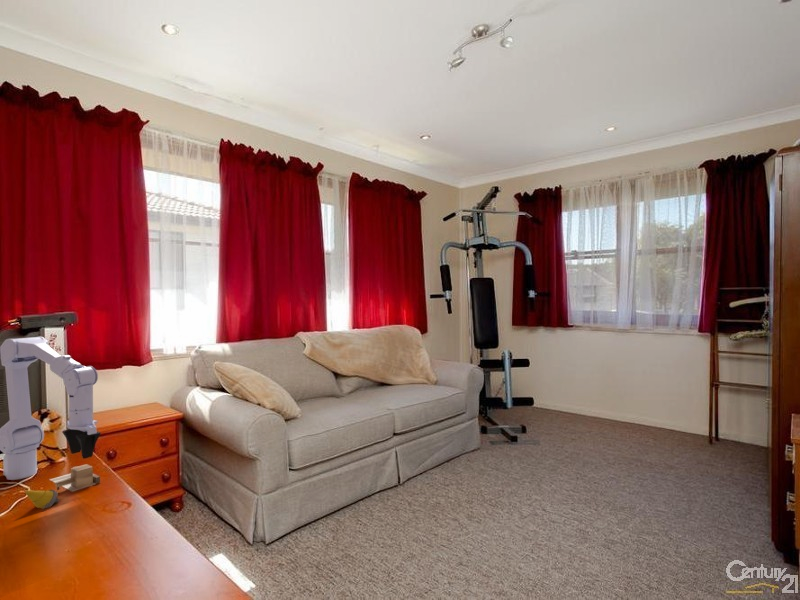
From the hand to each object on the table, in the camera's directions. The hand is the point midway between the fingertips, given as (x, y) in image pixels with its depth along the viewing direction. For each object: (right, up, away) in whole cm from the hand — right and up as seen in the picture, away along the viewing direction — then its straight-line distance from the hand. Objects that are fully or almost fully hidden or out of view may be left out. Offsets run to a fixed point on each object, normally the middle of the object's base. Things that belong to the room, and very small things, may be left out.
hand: (81, 455), depth 128 cm
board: (-4, -10, +3) cm, 11 cm away
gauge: (-1, -9, -2) cm, 9 cm away
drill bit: (0, -10, -13) cm, 17 cm away
